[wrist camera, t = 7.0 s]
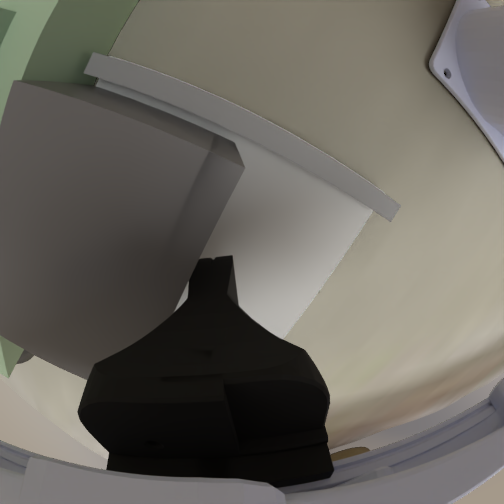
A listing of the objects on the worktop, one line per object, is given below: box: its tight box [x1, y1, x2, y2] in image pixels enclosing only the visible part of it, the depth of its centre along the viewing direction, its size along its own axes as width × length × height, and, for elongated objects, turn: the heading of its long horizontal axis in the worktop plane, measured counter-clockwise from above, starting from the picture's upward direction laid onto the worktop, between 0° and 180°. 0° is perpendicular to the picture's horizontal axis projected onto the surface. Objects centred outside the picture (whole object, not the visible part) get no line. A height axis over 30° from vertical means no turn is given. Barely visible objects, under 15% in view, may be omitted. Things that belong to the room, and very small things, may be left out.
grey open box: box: [0, 80, 245, 380], centre depth 9 cm, size 6×8×5 cm
